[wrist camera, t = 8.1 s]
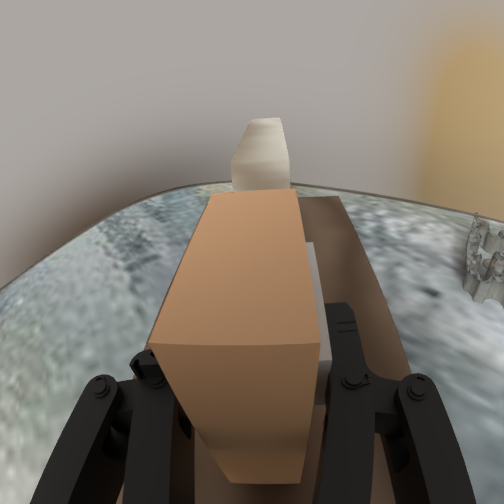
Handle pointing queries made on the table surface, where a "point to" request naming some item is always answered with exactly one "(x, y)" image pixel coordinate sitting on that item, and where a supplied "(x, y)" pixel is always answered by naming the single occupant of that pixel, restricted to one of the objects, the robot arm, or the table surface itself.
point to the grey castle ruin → (499, 268)
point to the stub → (245, 335)
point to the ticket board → (334, 291)
